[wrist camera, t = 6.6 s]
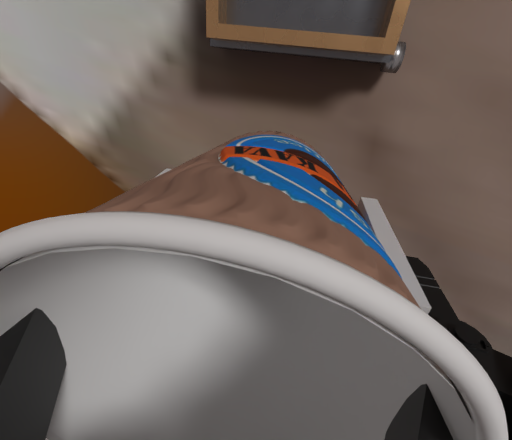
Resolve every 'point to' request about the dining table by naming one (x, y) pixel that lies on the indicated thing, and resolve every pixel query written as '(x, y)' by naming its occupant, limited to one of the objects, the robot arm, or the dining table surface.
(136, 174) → the dining table surface
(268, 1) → the square wooden box
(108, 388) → the coffee cup
